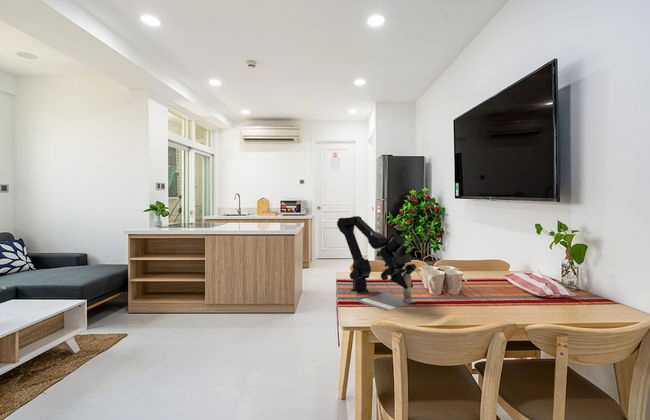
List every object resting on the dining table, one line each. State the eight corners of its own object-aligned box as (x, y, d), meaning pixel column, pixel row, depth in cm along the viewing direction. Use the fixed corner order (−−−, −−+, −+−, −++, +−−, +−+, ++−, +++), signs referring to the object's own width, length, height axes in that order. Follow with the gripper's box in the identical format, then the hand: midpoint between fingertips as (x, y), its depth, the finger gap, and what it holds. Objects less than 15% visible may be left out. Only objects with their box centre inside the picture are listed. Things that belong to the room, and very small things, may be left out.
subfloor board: (356, 303, 145) (356, 300, 145) (385, 295, 158) (385, 292, 158) (386, 313, 132) (386, 310, 132) (416, 303, 145) (416, 300, 145)
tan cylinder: (401, 301, 144) (401, 274, 144) (406, 300, 146) (406, 273, 146) (408, 303, 141) (408, 275, 141) (413, 302, 144) (413, 274, 143)
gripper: (385, 249, 141) (406, 280, 132) (413, 246, 152) (434, 274, 144) (372, 265, 147) (391, 295, 139) (399, 260, 158) (418, 288, 150)
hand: (409, 287), depth 143 cm, fingers closed on tan cylinder, 3 cm apart
